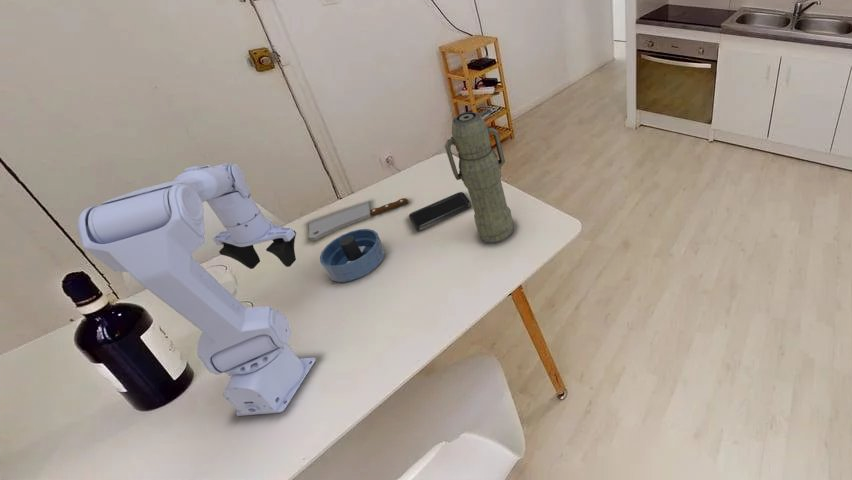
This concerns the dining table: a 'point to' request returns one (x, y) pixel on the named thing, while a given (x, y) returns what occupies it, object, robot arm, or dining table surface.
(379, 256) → the blue round bowl
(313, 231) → the kitchen cleaver
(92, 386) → the dining table surface
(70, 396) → the dining table surface
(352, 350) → the dining table surface
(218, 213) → the robot arm
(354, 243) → the blade unit
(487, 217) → the thermos
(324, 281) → the dining table surface
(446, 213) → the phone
